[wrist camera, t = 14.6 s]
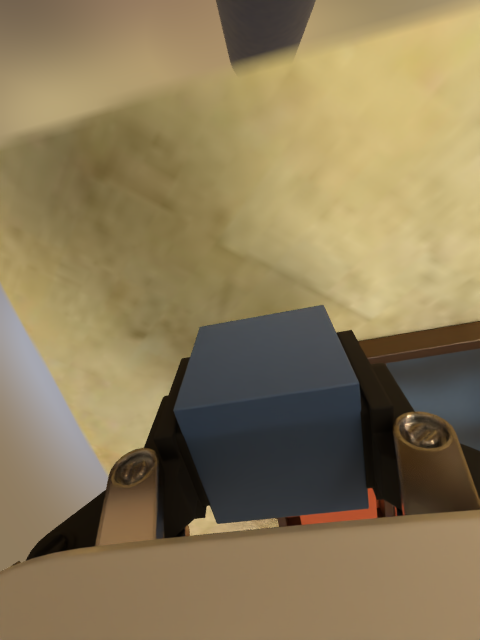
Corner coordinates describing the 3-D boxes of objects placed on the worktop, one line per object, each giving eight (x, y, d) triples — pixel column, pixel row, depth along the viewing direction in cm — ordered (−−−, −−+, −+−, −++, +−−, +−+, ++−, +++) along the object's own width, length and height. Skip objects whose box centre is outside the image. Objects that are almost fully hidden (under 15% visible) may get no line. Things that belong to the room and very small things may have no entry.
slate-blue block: (199, 326, 12) (172, 410, 8) (323, 304, 12) (359, 382, 8) (227, 419, 14) (216, 524, 10) (335, 404, 14) (369, 509, 10)
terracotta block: (286, 428, 23) (292, 484, 19) (352, 419, 23) (374, 475, 19) (295, 474, 25) (303, 535, 21) (357, 467, 24) (378, 527, 20)
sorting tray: (242, 360, 22) (241, 378, 20) (510, 315, 20) (536, 330, 18) (280, 515, 28) (282, 539, 26) (489, 492, 26) (506, 517, 24)
